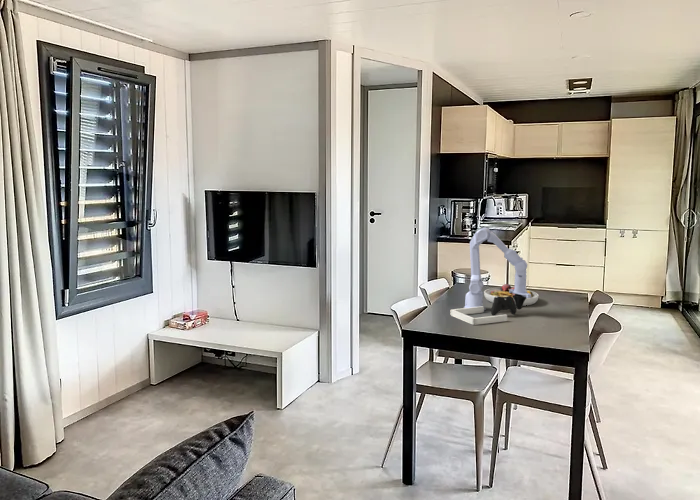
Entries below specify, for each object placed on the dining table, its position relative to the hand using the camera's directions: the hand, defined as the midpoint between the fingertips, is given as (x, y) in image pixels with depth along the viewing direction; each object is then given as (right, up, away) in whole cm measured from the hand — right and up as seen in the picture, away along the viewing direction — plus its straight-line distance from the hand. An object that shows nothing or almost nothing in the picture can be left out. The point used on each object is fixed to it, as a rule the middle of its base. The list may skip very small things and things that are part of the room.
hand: (519, 308), depth 289 cm
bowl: (+4, +1, +29) cm, 29 cm away
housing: (-24, -4, -10) cm, 26 cm away
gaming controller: (-9, -3, -4) cm, 10 cm away
